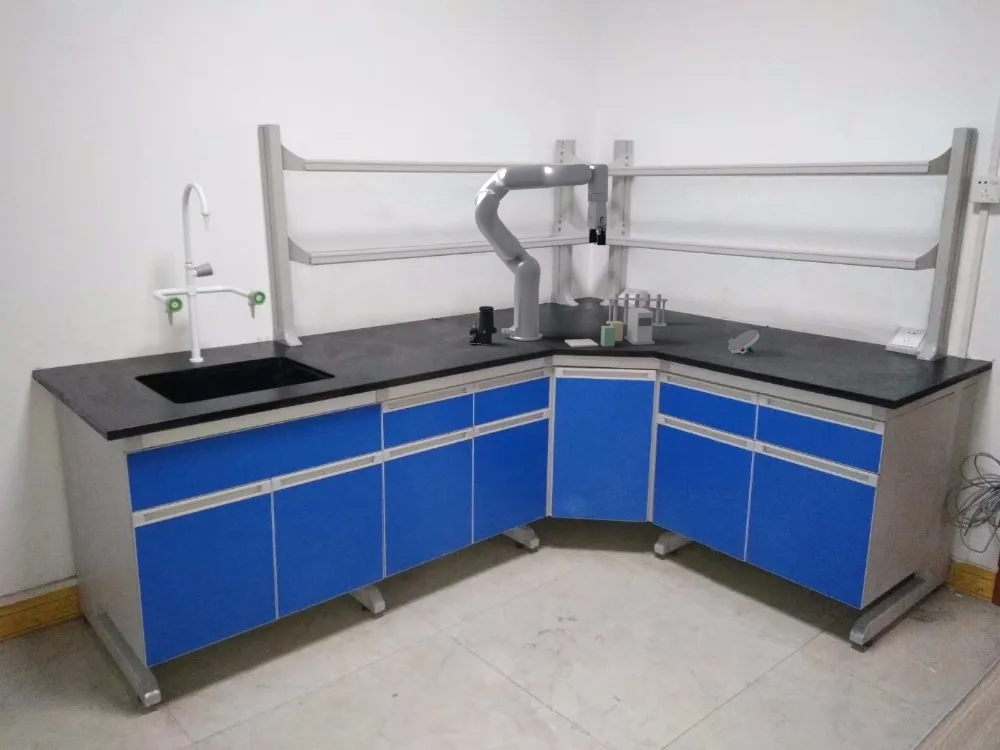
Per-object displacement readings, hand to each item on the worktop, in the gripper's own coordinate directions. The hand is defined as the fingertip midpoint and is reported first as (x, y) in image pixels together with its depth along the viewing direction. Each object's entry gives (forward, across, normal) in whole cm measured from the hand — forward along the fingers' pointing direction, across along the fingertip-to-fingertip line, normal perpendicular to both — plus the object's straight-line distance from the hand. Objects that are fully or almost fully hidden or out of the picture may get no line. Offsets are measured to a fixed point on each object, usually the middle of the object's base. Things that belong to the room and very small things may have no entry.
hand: (597, 244), depth 295 cm
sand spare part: (+36, +9, +5) cm, 37 cm away
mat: (+36, +12, -10) cm, 39 cm away
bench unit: (+36, +13, +13) cm, 40 cm away
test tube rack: (+37, -19, +24) cm, 48 cm away
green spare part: (+36, +16, -1) cm, 40 cm away
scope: (+35, +5, -46) cm, 58 cm away
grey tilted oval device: (+37, +37, +42) cm, 68 cm away
